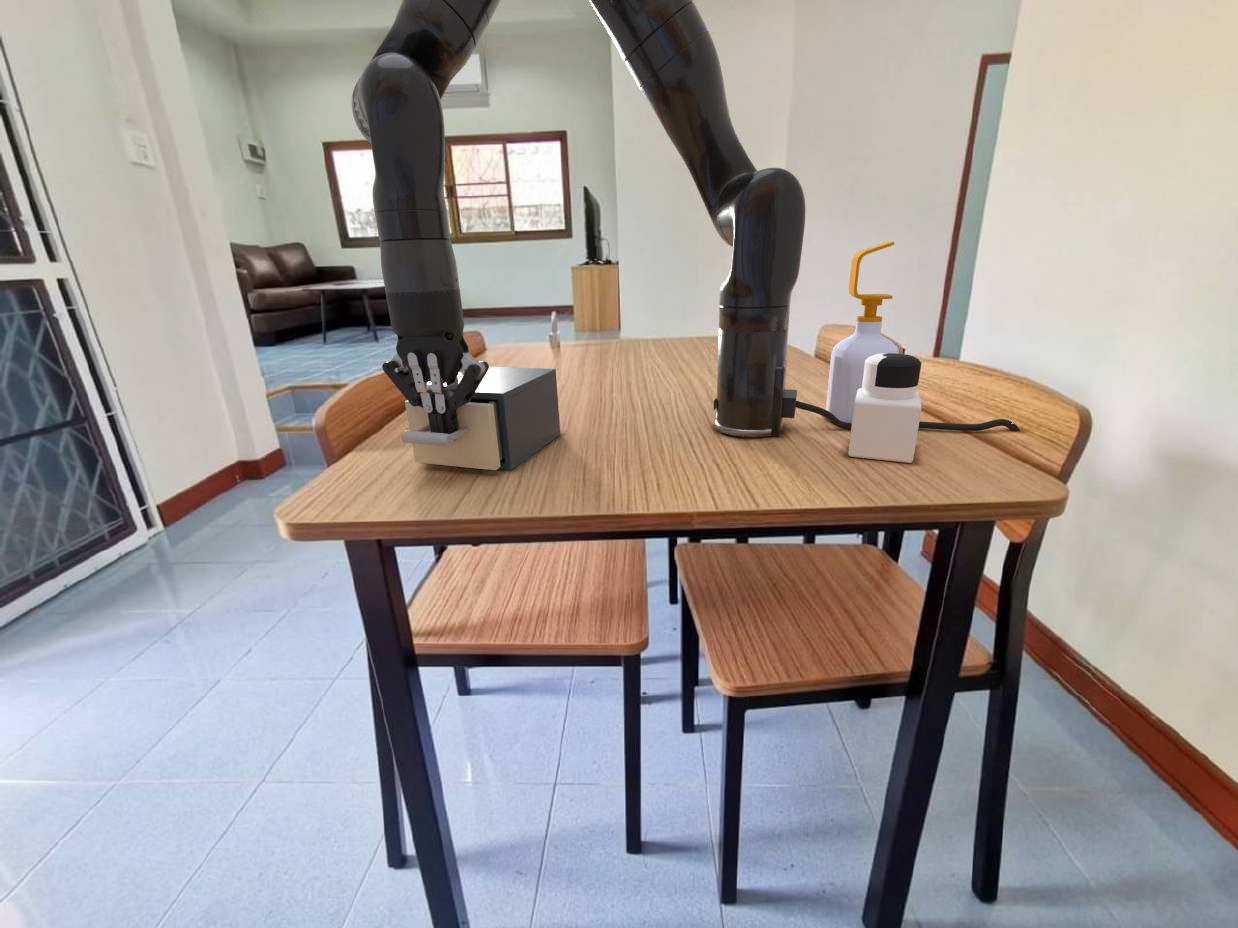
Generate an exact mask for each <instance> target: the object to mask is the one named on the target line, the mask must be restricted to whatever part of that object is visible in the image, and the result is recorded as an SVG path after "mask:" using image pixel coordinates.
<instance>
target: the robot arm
mask: <svg viewBox="0 0 1238 928" xmlns="http://www.w3.org/2000/svg"><path fill="white" fill-rule="evenodd" d="M588 1H589V2H590V4H591V6H592V7H593V10H594V11H595V12H596V15H597V16H598V17H599V19H600V21H601V23H602V24H603V25H604V28H605V29H606V31H607V33H608V34H609V36H610V38H611V40H612V42H613V44H614V45H615V47H616V49H617V51H618V53H619V55H620V57H621V59H622V61H623V62H625V63H624V64H625V66H626V68H627V70H628V71H629V72H630V75H631V76H632V78H633V80H634V81H635V83H636V85H637V87H638V88H639V91H641V93H642V95H643V97H644V98H645V100H646V101H647V102H648V105H649V106H650V108H651V109H652V111H653V112H654V114H655V116H656V118H657V120H658V121H659V123H660V125H661V126H662V128H663V129H664V131H665V133H666V135H667V136H668V138H669V139H670V141H671V143H672V145H673V146H674V148H675V150H676V151H677V152H678V155H680V157H681V159H682V161H683V162H684V164H685V166H686V167H687V169H688V172H689V174H690V175H691V178H692V180H693V182H694V184H695V186H696V189H697V190H698V193H699V195H700V197H701V200H702V203H703V204H704V206H705V208H706V211H707V214H708V216H709V218H710V220H711V222H712V224H713V227H714V229H715V231H716V232H717V234H718V235H719V237H720V239H722V241H723V242H724V243H725V244H726V245H728V246H730V247H731V248H732V257H731V258H732V259H731V266H730V271H729V274H728V276H727V278H726V279H725V280H724V281H723V283H722V284H721V285H720V288H719V302H718V303H719V306H718V307H719V308H718V310H719V311H718V335H717V336H718V337H717V338H718V341H717V342H718V343H717V344H718V345H717V372H716V373H717V374H716V398H715V399H714V400H713V411H715V419H714V428H715V430H716V431H718V432H719V433H722V434H725V435H728V436H731V437H732V436H733V437H740V438H764V437H765V438H766V437H770V436H771V437H780V436H781V432H782V430H783V424H784V423H783V422H784V421H783V420H784V419H795V415H796V409H800V410H803V411H807V412H811V413H814V414H817V415H818V416H822V417H824V418H826V419H827V420H828V421H829V420H830V421H829V422H830V423H831V424H833V425H834V426H835V427H837V428H840V429H844V430H849V431H851V426H852V423H847V422H843V421H840V420H839V419H837V418H836V417H835V416H834V415H833V414H832V413H830V412H829V411H827V410H826V408H825V409H824V408H823V407H820V406H817V405H813V404H811V403H806V402H803V401H799V400H797V397H798V389H787V388H786V379H787V367H788V360H787V357H788V356H787V354H788V340H789V326H790V313H791V302H792V301H791V300H792V294H793V290H794V288H795V286H796V284H797V282H798V279H799V274H800V269H801V261H802V253H803V245H804V236H805V227H806V213H807V211H806V209H807V207H806V197H805V193H804V190H803V187H802V184H801V182H800V181H799V180H798V178H797V177H796V176H795V174H793V173H792V172H790V171H789V170H787V169H785V168H781V167H766V168H762V169H757V168H756V166H755V165H754V163H753V162H752V160H751V159H750V157H749V155H748V154H747V152H746V150H745V148H744V147H743V144H742V143H741V141H740V139H739V137H738V134H737V132H736V130H735V127H734V125H733V122H732V119H731V115H730V110H729V105H728V100H727V94H726V87H725V81H724V77H723V71H722V65H721V62H720V61H721V60H720V57H719V54H718V51H717V48H716V45H715V42H714V41H713V38H712V35H711V33H710V31H709V30H708V27H707V25H706V23H705V21H704V19H703V18H702V16H701V13H700V12H699V10H698V8H697V5H696V4H695V2H694V0H588ZM500 2H501V0H402V1H401V3H400V5H399V8H398V11H397V13H396V16H395V19H394V20H393V23H392V25H391V27H390V29H389V30H388V32H387V34H386V35H385V36H384V38H383V40H382V41H381V42H380V45H379V46H378V47H377V49H376V51H375V52H374V54H373V56H372V57H371V58H370V60H369V62H368V64H367V65H366V66H365V68H364V69H363V71H362V73H361V75H360V76H359V78H358V80H357V82H356V83H355V85H354V88H353V91H352V94H351V111H352V112H351V113H352V117H353V120H354V122H355V125H356V127H357V129H358V130H359V132H360V134H361V135H362V136H363V137H364V139H365V140H366V141H367V142H368V143H369V144H371V146H370V147H371V153H372V159H373V164H374V173H375V175H374V180H373V185H372V205H373V211H374V218H375V225H376V229H377V234H378V241H379V250H380V269H381V273H382V280H383V284H384V291H385V298H386V303H387V309H388V315H389V320H390V327H391V330H392V332H393V333H394V334H395V335H396V337H397V342H396V346H395V351H396V354H395V355H394V356H393V357H392V358H391V359H390V360H389V361H386V362H383V363H382V365H381V368H382V371H383V372H384V373H385V375H386V376H387V377H388V378H389V379H390V380H391V382H392V383H393V384H394V386H395V387H396V388H397V389H398V390H399V392H400V393H401V395H402V396H403V397H404V398H405V399H406V401H407V400H408V402H409V403H410V404H411V405H412V406H414V407H416V406H420V407H422V408H424V410H425V411H426V412H427V413H428V418H429V425H430V431H431V432H433V433H445V434H452V433H454V432H456V431H458V423H457V416H456V409H457V408H458V407H460V406H463V405H465V404H467V403H469V402H470V400H471V398H472V397H473V395H474V393H475V392H476V390H477V388H478V387H479V385H480V383H481V381H482V380H483V378H484V376H485V375H486V373H487V371H488V369H489V367H490V364H489V363H488V362H487V361H486V360H481V361H479V360H478V359H476V358H475V357H474V356H473V355H472V354H471V353H470V347H469V344H468V343H467V342H466V340H465V337H464V330H465V329H464V328H465V319H464V311H463V305H462V304H463V303H462V296H461V288H460V281H459V272H458V265H457V259H456V255H455V253H454V249H453V243H452V240H451V238H452V237H451V229H450V223H449V215H448V207H447V202H446V197H445V167H446V166H445V165H446V161H445V160H446V153H445V152H446V138H445V137H446V136H445V135H446V134H445V133H446V132H445V118H444V111H443V105H442V101H441V100H442V99H443V96H444V95H445V93H446V91H447V89H448V87H449V85H450V84H451V82H452V81H453V79H454V78H455V77H456V76H457V74H459V72H461V70H463V68H464V67H465V66H466V64H467V63H468V62H469V60H470V59H471V57H472V55H473V54H474V52H475V50H476V48H477V46H478V45H479V42H480V41H481V39H482V37H483V35H484V33H485V31H486V29H487V28H488V26H489V24H490V22H491V20H492V19H493V17H494V14H495V13H496V10H497V9H498V6H499V4H500ZM460 372H461V374H462V375H463V377H462V379H461V380H460V382H459V383H458V374H459V373H460ZM414 391H415V392H414ZM1011 421H1012V420H1009V419H1005V418H998V419H992V420H989V421H985V422H980V423H979V422H978V423H952V422H934V421H921V420H920V421H919V427H918V429H924V430H925V429H928V430H940V431H960V432H978V431H979V432H980V431H984V430H989V429H993V428H996V427H997V428H998V427H1006V428H1007V429H1008V430H1009V431H1011V432H1021V428H1019V426H1018V425H1017V424H1016V423H1015V422H1013V421H1012V422H1013V423H1014V424H1011V423H1012V422H1011ZM455 440H456V439H455ZM455 440H454V441H455Z"/></svg>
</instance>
